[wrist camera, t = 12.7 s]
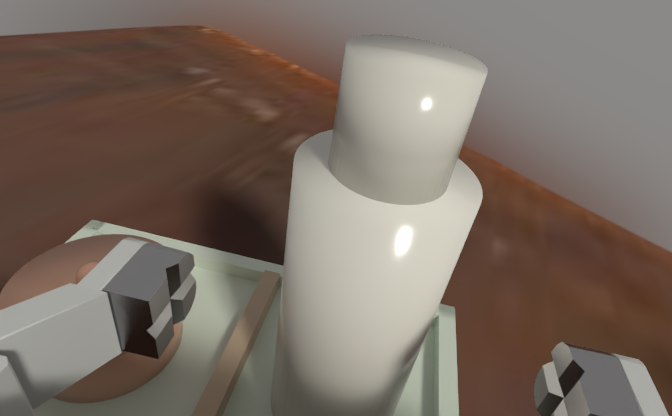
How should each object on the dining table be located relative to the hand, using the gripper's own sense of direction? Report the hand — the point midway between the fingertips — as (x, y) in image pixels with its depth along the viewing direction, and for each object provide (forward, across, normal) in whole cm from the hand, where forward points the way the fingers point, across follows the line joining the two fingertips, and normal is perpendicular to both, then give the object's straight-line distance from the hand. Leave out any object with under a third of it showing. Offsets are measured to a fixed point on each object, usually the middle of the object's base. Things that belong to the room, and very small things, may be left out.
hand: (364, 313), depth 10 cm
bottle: (+4, 0, -9) cm, 10 cm away
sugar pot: (+4, -10, -10) cm, 15 cm away
